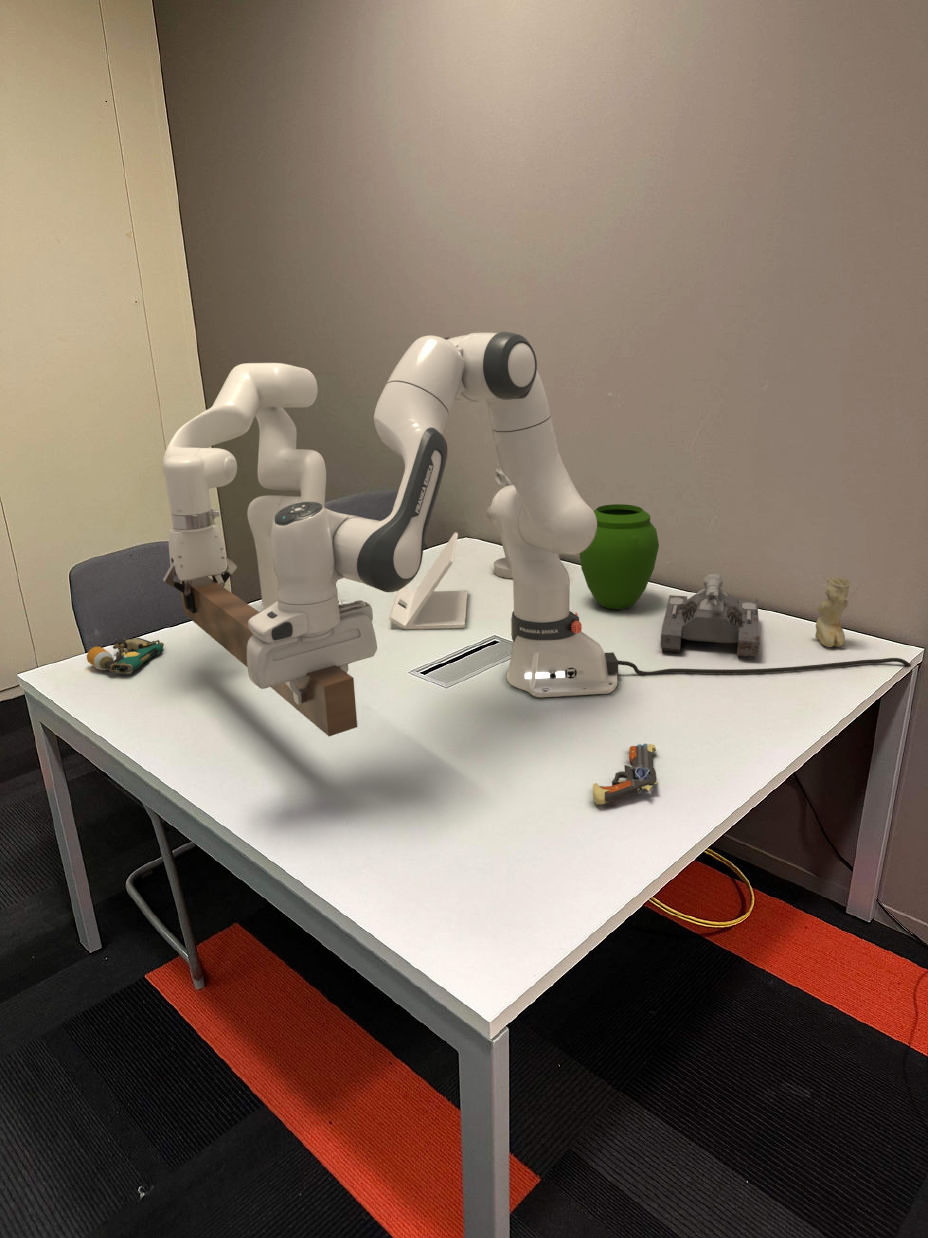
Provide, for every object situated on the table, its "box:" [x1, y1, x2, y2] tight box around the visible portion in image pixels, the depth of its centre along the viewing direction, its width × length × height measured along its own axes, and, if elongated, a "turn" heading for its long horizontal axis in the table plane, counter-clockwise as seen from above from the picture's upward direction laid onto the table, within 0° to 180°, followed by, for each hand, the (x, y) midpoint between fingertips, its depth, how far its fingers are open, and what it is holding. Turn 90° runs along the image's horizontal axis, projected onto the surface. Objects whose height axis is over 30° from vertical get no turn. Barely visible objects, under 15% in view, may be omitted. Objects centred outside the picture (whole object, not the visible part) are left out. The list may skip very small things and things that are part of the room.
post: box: [178, 576, 358, 738], centre depth 151 cm, size 66×5×8 cm, turn 35°
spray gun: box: [86, 637, 165, 674], centre depth 188 cm, size 4×17×15 cm
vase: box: [578, 503, 660, 610], centre depth 210 cm, size 20×20×24 cm
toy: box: [660, 573, 760, 658], centre depth 190 cm, size 25×20×15 cm
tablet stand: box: [388, 531, 468, 630], centre depth 211 cm, size 18×25×17 cm
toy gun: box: [592, 743, 658, 805], centre depth 137 cm, size 3×19×10 cm
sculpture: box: [814, 576, 852, 648], centre depth 185 cm, size 6×7×15 cm
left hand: (205, 607), depth 172 cm, fingers closed on post, 4 cm apart
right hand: (318, 696), depth 132 cm, fingers closed on post, 5 cm apart
